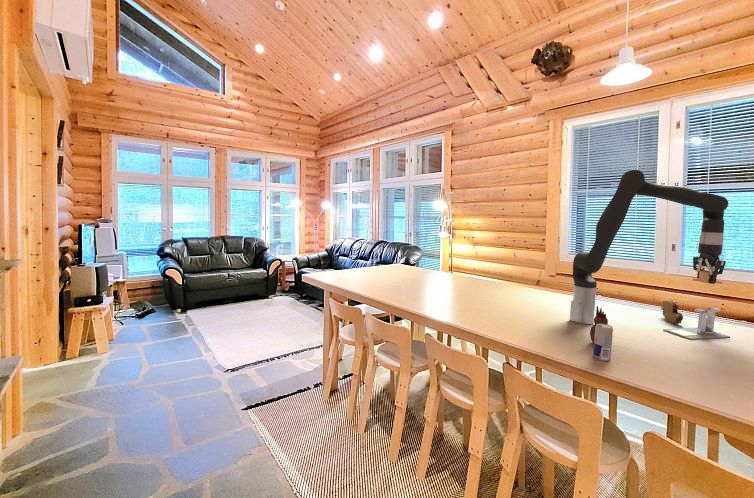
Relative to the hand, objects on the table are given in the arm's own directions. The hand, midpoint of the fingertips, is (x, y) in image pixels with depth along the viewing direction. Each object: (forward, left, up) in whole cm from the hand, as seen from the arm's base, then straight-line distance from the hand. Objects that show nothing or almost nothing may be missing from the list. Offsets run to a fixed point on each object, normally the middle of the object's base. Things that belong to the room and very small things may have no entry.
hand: (705, 282), depth 158 cm
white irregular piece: (+2, 0, -23) cm, 23 cm away
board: (-3, 0, -23) cm, 23 cm away
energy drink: (-65, -19, -23) cm, 71 cm away
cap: (0, 0, 0) cm, 0 cm away
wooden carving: (+4, +17, -23) cm, 29 cm away
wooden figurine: (-55, -6, -23) cm, 60 cm away
